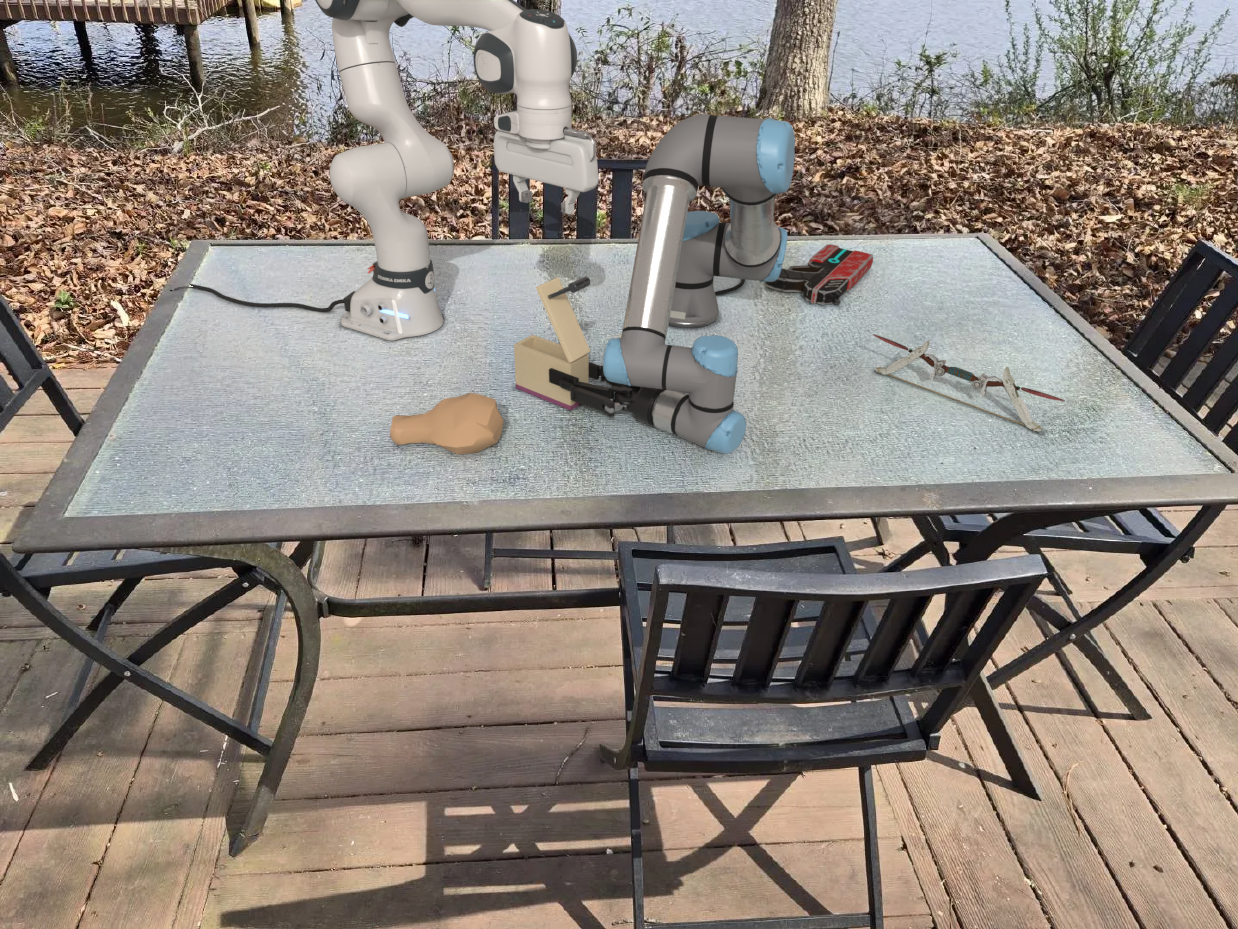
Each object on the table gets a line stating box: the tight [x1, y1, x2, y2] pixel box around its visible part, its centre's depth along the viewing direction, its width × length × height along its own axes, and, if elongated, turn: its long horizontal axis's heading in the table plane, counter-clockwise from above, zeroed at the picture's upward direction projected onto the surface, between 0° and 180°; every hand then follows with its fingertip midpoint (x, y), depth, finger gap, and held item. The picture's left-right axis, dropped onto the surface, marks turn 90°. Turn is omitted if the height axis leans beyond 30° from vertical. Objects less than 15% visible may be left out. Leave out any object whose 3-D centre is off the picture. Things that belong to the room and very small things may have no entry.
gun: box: [764, 243, 874, 306], centre depth 221 cm, size 4×31×19 cm
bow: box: [872, 333, 1066, 432], centre depth 170 cm, size 39×2×10 cm, turn 47°
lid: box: [535, 275, 591, 363], centre depth 158 cm, size 15×6×8 cm
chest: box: [513, 334, 590, 411], centre depth 168 cm, size 14×6×10 cm, turn 54°
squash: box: [389, 392, 505, 455], centre depth 152 cm, size 11×20×9 cm, turn 90°
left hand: (546, 207), depth 151 cm, fingers open, 8 cm apart
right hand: (561, 368), depth 166 cm, fingers closed on chest, 5 cm apart
